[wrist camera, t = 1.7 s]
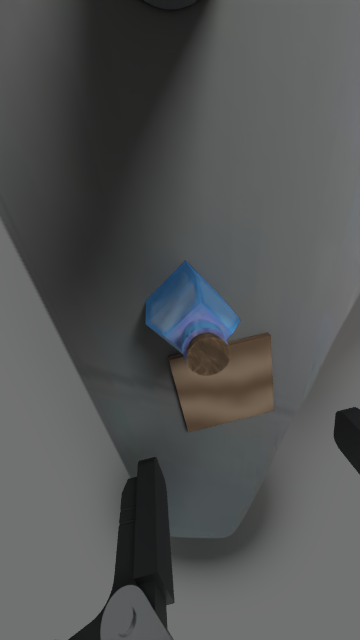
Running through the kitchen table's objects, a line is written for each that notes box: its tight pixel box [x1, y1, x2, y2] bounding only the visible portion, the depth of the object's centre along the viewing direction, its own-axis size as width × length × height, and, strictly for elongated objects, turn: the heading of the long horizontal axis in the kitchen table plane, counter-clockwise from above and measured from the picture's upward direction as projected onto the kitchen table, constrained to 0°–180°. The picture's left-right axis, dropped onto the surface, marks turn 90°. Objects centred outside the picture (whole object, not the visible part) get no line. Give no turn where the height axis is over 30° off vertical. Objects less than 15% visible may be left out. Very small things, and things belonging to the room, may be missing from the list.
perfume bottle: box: [146, 261, 240, 376], centre depth 22 cm, size 6×6×12 cm
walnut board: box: [168, 333, 274, 432], centre depth 33 cm, size 13×13×1 cm
